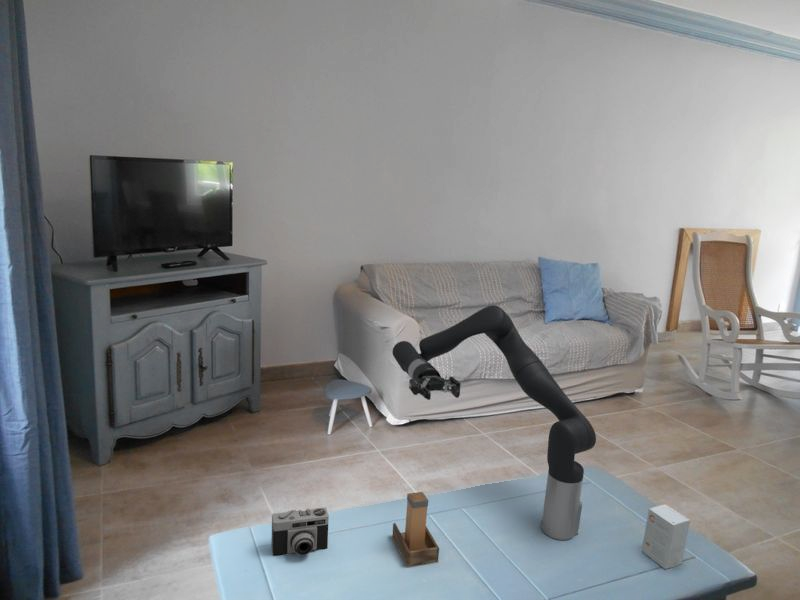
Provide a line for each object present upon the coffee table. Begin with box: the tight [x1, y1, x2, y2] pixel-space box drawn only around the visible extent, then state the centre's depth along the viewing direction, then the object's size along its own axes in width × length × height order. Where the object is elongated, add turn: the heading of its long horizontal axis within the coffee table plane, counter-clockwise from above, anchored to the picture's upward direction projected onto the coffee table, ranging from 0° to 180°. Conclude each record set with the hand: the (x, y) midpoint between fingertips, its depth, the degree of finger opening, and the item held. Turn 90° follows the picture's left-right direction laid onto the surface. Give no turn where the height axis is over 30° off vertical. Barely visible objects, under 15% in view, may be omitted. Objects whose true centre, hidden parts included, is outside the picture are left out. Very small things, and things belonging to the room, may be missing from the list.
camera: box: [271, 507, 330, 557], centre depth 152 cm, size 14×8×10 cm, turn 107°
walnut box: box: [392, 522, 440, 568], centre depth 157 cm, size 8×13×4 cm, turn 18°
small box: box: [641, 503, 691, 570], centre depth 158 cm, size 8×6×13 cm
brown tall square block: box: [404, 491, 429, 551], centre depth 156 cm, size 4×4×14 cm
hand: (443, 395), depth 168 cm, fingers open, 8 cm apart
